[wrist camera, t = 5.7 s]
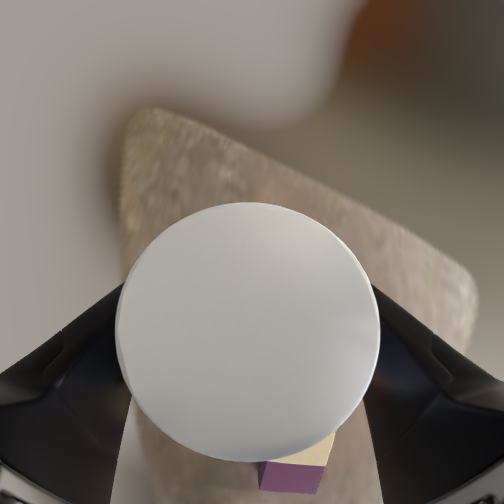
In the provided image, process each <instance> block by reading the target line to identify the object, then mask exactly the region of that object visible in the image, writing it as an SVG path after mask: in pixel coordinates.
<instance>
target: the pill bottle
mask: <svg viewBox="0 0 504 504" xmlns="http://www.w3.org/2000/svg"><path fill="white" fill-rule="evenodd" d="M115 341H116V351H117V357H118V361H119V365H120V368H121V371H122V374H123V378H124V380H125V382H126V384H127V386H128V388H129V390H130V392H131V394H132V396H133V398H134V399H135V401H136V403H137V404H138V405H139V407H140V408H141V409H142V411H143V412H144V413H145V415H146V416H147V417H148V418H149V419H150V420H151V421H152V422H153V423H154V424H155V425H156V426H157V427H158V428H159V429H160V430H162V431H163V432H164V433H165V434H167V435H168V436H169V437H171V438H172V439H173V440H175V441H176V442H178V443H180V444H181V445H183V446H185V447H187V448H189V449H191V450H193V451H196V452H198V453H201V454H204V455H207V456H210V457H213V458H217V459H222V460H227V461H236V462H262V461H269V460H275V459H279V458H283V457H287V456H290V455H293V454H296V453H299V452H301V451H303V450H305V449H307V448H309V447H311V446H313V445H315V444H317V443H318V442H320V441H322V440H323V439H325V438H326V437H327V436H328V435H330V434H331V433H332V432H334V431H335V430H336V429H337V428H338V427H339V426H340V425H341V424H342V423H343V422H344V421H345V420H346V419H347V418H348V417H349V416H350V415H351V413H352V412H353V411H354V409H355V408H356V407H357V405H358V404H359V403H360V401H361V399H362V398H363V396H364V394H365V392H366V390H367V388H368V386H369V384H370V382H371V379H372V376H373V373H374V370H375V367H376V363H377V359H378V353H379V347H380V321H379V312H378V307H377V302H376V299H375V296H374V293H373V290H372V287H371V284H370V282H369V279H368V277H367V275H366V273H365V272H364V270H363V268H362V266H361V265H360V263H359V262H358V260H357V259H356V257H355V256H354V254H353V253H352V252H351V251H350V250H349V248H348V247H347V246H346V245H345V244H344V243H343V242H342V241H341V240H340V239H339V238H338V237H337V236H335V235H334V234H333V233H332V232H331V231H330V230H328V229H327V228H326V227H324V226H323V225H321V224H320V223H318V222H317V221H315V220H313V219H311V218H309V217H307V216H305V215H303V214H300V213H298V212H296V211H293V210H291V209H287V208H284V207H280V206H277V205H272V204H266V203H249V202H244V203H230V204H224V205H219V206H214V207H211V208H207V209H204V210H201V211H198V212H196V213H194V214H192V215H190V216H187V217H185V218H183V219H182V220H180V221H178V222H177V223H175V224H173V225H171V226H170V227H169V228H167V229H166V230H165V231H163V232H162V233H161V234H160V235H159V236H158V237H156V238H155V239H154V240H153V241H152V242H151V243H150V244H149V246H148V247H147V248H146V249H145V250H144V251H143V253H142V254H141V256H140V257H139V258H138V260H137V261H136V263H135V264H134V265H133V267H132V269H131V271H130V273H129V275H128V277H127V279H126V281H125V284H124V286H123V288H122V292H121V295H120V298H119V302H118V306H117V312H116V320H115Z"/></svg>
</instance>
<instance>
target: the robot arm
mask: <svg viewBox="0 0 504 504" xmlns="http://www.w3.org/2000/svg"><path fill="white" fill-rule="evenodd" d="M124 284H125V282H124V283H122V284H121V285H119V286H118V287H117V288H115V289H114V290H113V291H111V292H110V293H109V294H107V295H106V296H105V297H104V298H102V299H101V300H99V301H98V302H97V303H96V304H94V305H93V306H92V307H90V308H89V309H88V310H86V311H85V312H84V313H82V314H81V315H80V316H78V317H77V318H76V319H75V320H73V321H72V322H71V323H69V324H68V325H67V326H66V327H64V328H63V329H62V331H59V332H58V333H57V334H55V335H54V336H53V337H51V338H50V339H49V340H48V341H46V342H45V343H44V344H42V345H41V346H40V347H38V348H37V349H35V350H34V351H33V352H31V353H30V354H28V355H27V356H25V357H24V358H23V359H21V360H20V361H18V362H17V363H15V364H14V365H12V366H11V367H10V368H8V369H6V370H5V371H4V372H2V373H1V374H0V504H110V499H111V493H112V487H113V482H114V476H115V470H116V465H117V459H118V455H119V450H120V445H121V440H122V436H123V431H124V427H125V422H126V418H127V414H128V409H129V405H130V401H131V397H132V394H131V392H130V390H129V388H128V386H127V384H126V382H125V380H124V378H123V374H122V371H121V368H120V365H119V361H118V357H117V351H116V341H115V320H116V312H117V306H118V302H119V298H120V295H121V292H122V288H123V286H124ZM370 284H371V283H370ZM371 287H372V290H373V293H374V296H375V299H376V302H377V307H378V312H379V321H380V347H379V353H378V359H377V363H376V367H375V370H374V373H373V376H372V379H371V382H370V384H369V386H368V388H367V390H366V392H365V394H364V396H363V402H364V406H365V411H366V415H367V419H368V424H369V428H370V433H371V438H372V442H373V447H374V452H375V457H376V461H377V468H378V474H379V479H380V485H381V491H382V497H383V503H384V504H504V382H503V381H500V380H498V379H496V378H494V377H493V376H491V375H490V374H489V373H487V372H486V371H484V370H483V369H481V368H480V367H479V366H477V365H476V364H474V363H473V362H471V361H470V360H469V359H467V358H466V357H464V356H463V355H462V354H460V353H459V352H458V351H456V350H455V349H453V348H452V347H451V346H450V345H448V344H447V343H446V342H445V341H443V340H442V339H441V338H440V337H438V336H437V335H436V334H434V333H433V332H432V331H431V330H430V329H428V328H427V327H426V326H425V325H423V324H422V323H421V322H420V321H418V320H417V319H416V318H415V317H413V316H412V315H411V314H410V313H408V312H407V311H406V310H404V309H403V308H402V307H401V306H399V305H398V304H397V303H395V302H394V301H393V300H392V299H390V298H389V297H388V296H386V295H385V294H384V293H382V292H381V291H380V290H379V289H377V288H376V287H375V286H373V285H372V284H371ZM433 334H434V335H433Z"/></svg>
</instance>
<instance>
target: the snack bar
mask: <svg viewBox="0 0 504 504" xmlns="http://www.w3.org/2000/svg"><path fill="white" fill-rule="evenodd" d="M336 430H337V429H336ZM336 430H335V431H334V432H332V433H331V434H330V435H328V436H327V437H326V438H325V439H323V440H322V441H320V442H318V443H317V444H315V445H313V446H311V447H309V448H307V449H305V450H303V451H301V452H299V453H296V454H293V455H290V456H287V457H283V458H279V459H275V460H269V461H262V462H261V464H260V467H259V471H258V484H259V490H265V491H274V492H285V493H299V494H316V492H317V489H318V487H319V484H320V481H321V478H322V475H323V472H324V469H325V466H326V463H327V460H328V457H329V454H330V450H331V447H332V444H333V440H334V437H335V433H336Z"/></svg>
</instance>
